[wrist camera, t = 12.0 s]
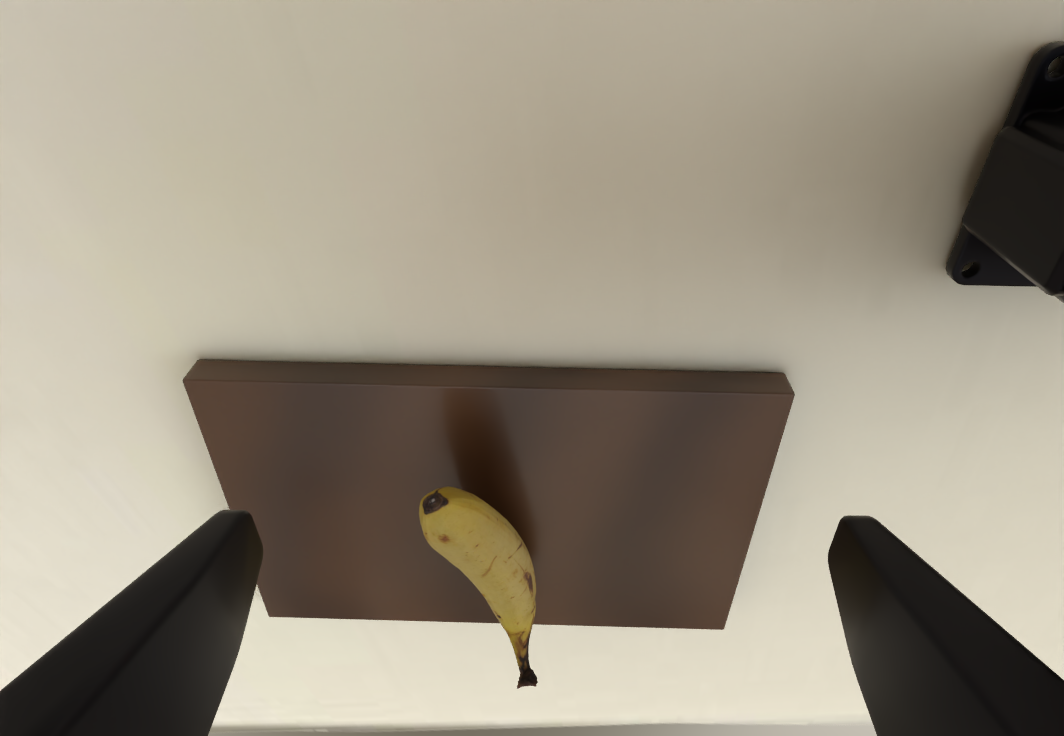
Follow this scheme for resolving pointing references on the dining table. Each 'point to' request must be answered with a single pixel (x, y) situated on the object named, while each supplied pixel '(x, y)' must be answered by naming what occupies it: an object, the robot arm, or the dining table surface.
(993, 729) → the robot arm
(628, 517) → the walnut board
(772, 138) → the dining table surface
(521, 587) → the banana
